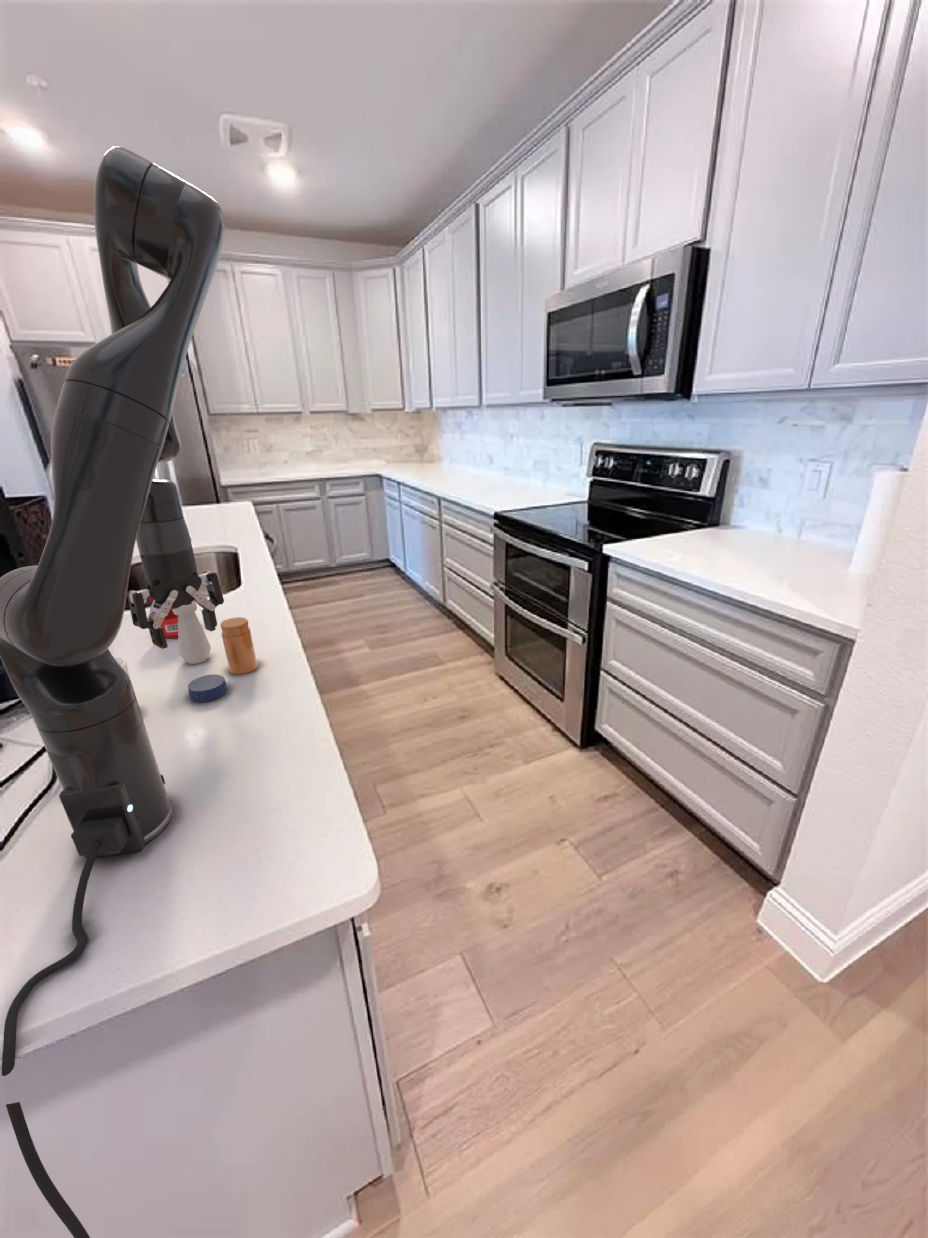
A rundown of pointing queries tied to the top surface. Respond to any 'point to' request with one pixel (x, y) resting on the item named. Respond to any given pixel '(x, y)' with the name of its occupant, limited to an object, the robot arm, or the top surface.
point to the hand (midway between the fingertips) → (187, 638)
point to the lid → (207, 688)
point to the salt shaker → (191, 635)
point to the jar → (238, 645)
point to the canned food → (169, 623)
